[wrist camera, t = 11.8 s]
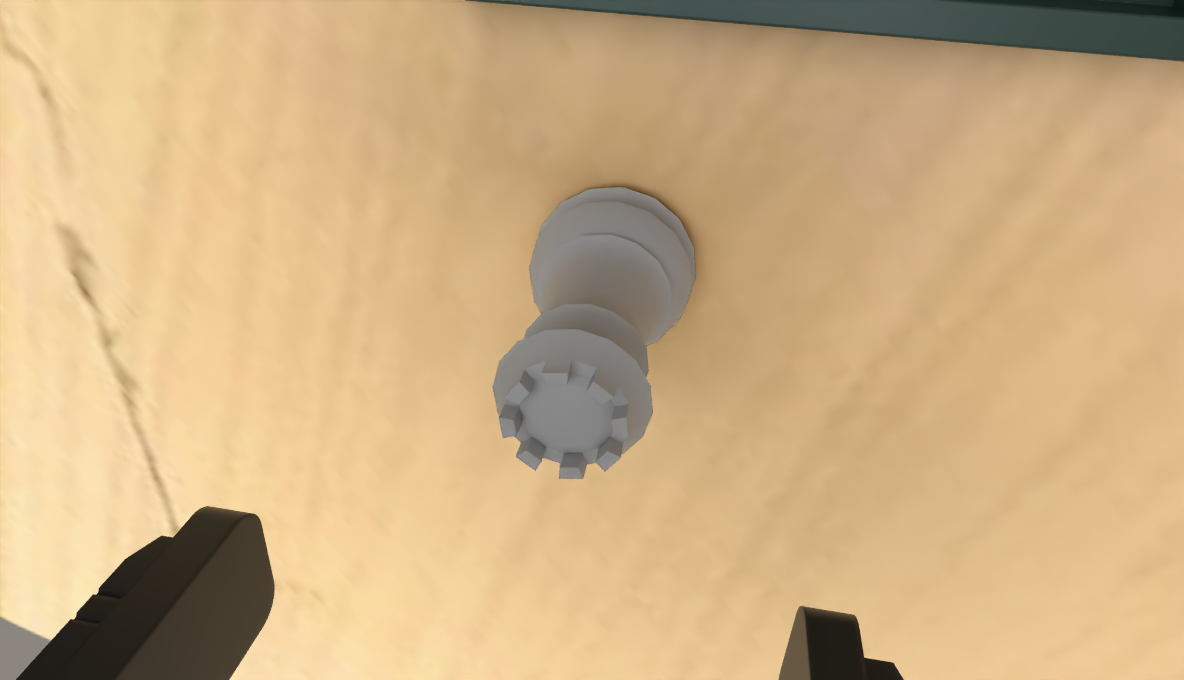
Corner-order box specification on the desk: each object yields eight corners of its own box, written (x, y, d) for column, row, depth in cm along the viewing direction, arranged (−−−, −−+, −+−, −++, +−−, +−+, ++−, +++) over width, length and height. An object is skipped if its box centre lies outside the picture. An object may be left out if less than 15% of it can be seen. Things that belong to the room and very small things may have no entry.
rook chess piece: (533, 315, 23) (450, 496, 16) (541, 169, 21) (449, 307, 14) (684, 338, 23) (663, 533, 16) (709, 192, 20) (697, 346, 14)
